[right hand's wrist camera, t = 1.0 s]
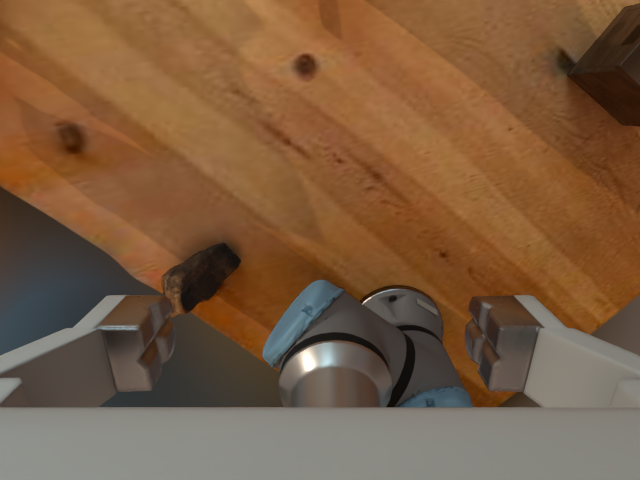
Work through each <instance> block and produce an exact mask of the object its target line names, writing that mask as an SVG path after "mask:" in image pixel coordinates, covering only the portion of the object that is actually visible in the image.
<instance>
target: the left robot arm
mask: <svg viewBox="0 0 640 480" xmlns="http://www.w3.org/2000/svg"><path fill="white" fill-rule="evenodd" d="M442 337H443V322H442V317H441V314H440V312H439V310H438V308H437V306H436V304H435V303H434V302H433V300H432V299H431V298H430V297H429V296H428V295H426V294H425V293H424V292H422V291H420V290H418V289H416V288H413V287H409V286H401V285H394V286H387V287H383V288H380V289H377V290H375V291H373V292H371V293H370V294H368V295H367V296H365V297H364V298H363V299H362V300H361V301H360V302H359V301H357V300H356V299H355V298H353V297H352V296H350V295H349V294H347V293H346V292H345V290H344V289H342V288H338V287H337V286H335V285H333V284H332V283H330V282H329V281H326V280H317V281H314V282H313V283H311V284H310V285H309V286H307V287H306V288H305V289H304V290H303V291H302V292H301V293H300V294H299V296H298V297H297V298H296V299H295V300H294V301H293V303H292V304H291V305H290V306H289V308H288V309H287V310H286V312H285V313H284V314H283V316H282V317H281V319H280V320H279V322H278V323H277V325H276V326H275V328H274V329H273V331H272V333H271V334H270V336H269V338H268V340H267V342H266V344H265V346H264V349H263V358H264V360H265V361H267V362H268V363H269V364H270V366H271V367H276V368H278V369H279V370H280V377H279V395H280V398H281V401H282V403H283V406H284V407H473V405H472V402H471V398H470V395H469V393H468V392H466V390H465V388H464V386H463V384H462V382H461V380H460V378H459V376H458V374H457V372H456V370H455V368H454V366H453V364H452V362H451V360H450V358H449V356H448V354H447V352H446V350H445V348H444V346H443V342H442Z"/></svg>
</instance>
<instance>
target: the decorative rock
mask: <svg viewBox="0 0 640 480" xmlns="http://www.w3.org/2000/svg"><path fill="white" fill-rule="evenodd" d="M240 262H241V260H240V259H239V258H238V256H237V255H236V254H235V253H234V252H233V251H231V250H230V249H229V247H228V246H227V245H226V244H225V243H222V244H218V245H215V246H212V247H210V248H208V249H206V250H204V251H200V252H198V253H196V254H194V255H193V256H192V257H191V258H189V259H187V260H186V261H185V262H183V263H181V264H179V265H177V266H174V267H173V268H171V269H169V270H168V271H167V272H166V273H165V274H164V275H163V276H162V277H161V280H162V283H161V286H162V289H163V294H162V295H161V296H166V297H167V298H168V299H169V300H170V305H171V310H172V311H171V313H170V314H169V316H168V317H167V318H168V319H170V318H172V317H176V316H178V315H179V314H186V313H188V312H190V311H191V310H192V309H193V308H194V307H195V306H196V305H197V304H198V303H199V302H204V301H208V300H209V299H210V298H211V297H212V296H213V295H214V294H215V293H216V292H217V289H218V287H219V286H220V285H221V284H222V283H223V281H224V280H225V279H226V278H227V277H228V276H229V275H230V274H231V273H232V272H233V271H235V270H236V269H237V267H238V266H239V264H240Z"/></svg>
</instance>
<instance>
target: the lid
mask: <svg viewBox="0 0 640 480" xmlns="http://www.w3.org/2000/svg"><path fill="white" fill-rule="evenodd" d="M613 67H614V68H615V69H616V70H617V71H618V72H619V73H620V74H621V75H622V76H623V77H624V78H625V79H626V80H627V81H628V82H630V83H631V84H632V85H633V86H634V87H635V88H636V89H637V90H638V91H639V92H640V36H639V38H638V39H637V40H636V41H635V42H634V43H633V44H632V45H631V47H630V48H629V49H628V50H627V51H626V52H625V53H624V55H623V56H622V57H621V58H620V59H619V60H618V61H617V62H616V64H615V65H614V66H613Z"/></svg>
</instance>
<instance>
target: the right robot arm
mask: <svg viewBox="0 0 640 480" xmlns="http://www.w3.org/2000/svg"><path fill="white" fill-rule="evenodd" d="M171 311H172V310H171V305H170V300H169V299H168V298H167V297H166V296H133V295H130V296H128V295H112V296H106V297H105V298H104V299H103V300H102V301H101V302H100V303H99V304H98V305H97V306H96V307H95V308H94V309H92V310H91V311H90V312H89V313H88V314H87V315H86V316H85V317H84V318H83V319H82V320H81V321H80V322H79V323H78V324H77V325H75V326H74V327H73V328H66V329H63V330H61V331H59V332H56V333H54V334H51V335H49V336H47V337H44V338H42V339H39V340H37V341H35V342H32V343H30V344H27V345H25V346H22V347H20V348H18V349H15V350H13V351H10V352H8V353H6V354H3V355H1V356H0V480H640V356H639V355H637V354H634V353H632V352H629V351H627V350H625V349H622V348H620V347H617V346H615V345H613V344H610V343H608V342H605V341H603V340H601V339H598V338H596V337H593V336H591V335H589V334H586V333H584V332H581V331H579V330H577V329H574V328H567V327H566V326H565V325H564V324H562V323H561V322H560V321H559V320H558V319H557V318H556V317H555V316H554V315H553V314H552V313H551V312H550V311H549V310H548V309H547V308H546V307H544V306H543V305H542V304H541V303H540V302H539V301H538V300H537V299H536V298H535V297H534V296H531V295H516V296H513V295H511V296H476V297H472V299H471V301H470V304H469V310H468V311H469V313H470V314H471V316H472V317H473V318H472V319H471V320H470V321H469V323H468V324H467V325H466V329H465V346H466V349H467V352H468V355H469V357H470V358H471V360H472V361H474V362H475V363H477V364H478V365H479V369H478V373H479V374H480V376H481V378H482V380H483V381H484V383H485V385H486V387H487V388H488V390H489V391H519V392H524V394H525V395H527V396H528V397H529V398H531V399H532V400H533V401H535V402H536V403H537V404H539V405H540V406H541V407H99V406H100V405H101V404H103V403H104V402H105V401H107V400H108V399H109V398H111V397H112V396H113V395H115V394H116V392H120V391H151V390H152V388H153V387H154V385H155V383H156V381H157V380H158V378H159V376H160V374H161V373H162V369H161V365H162V364H163V363H165V362H166V361H168V360H169V358H170V356H171V355H172V353H173V349H174V345H175V328H174V325H173V324H172V323H171V322H170V320H169V319H168V318H167V317H168V316H169V314H170V313H171Z"/></svg>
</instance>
